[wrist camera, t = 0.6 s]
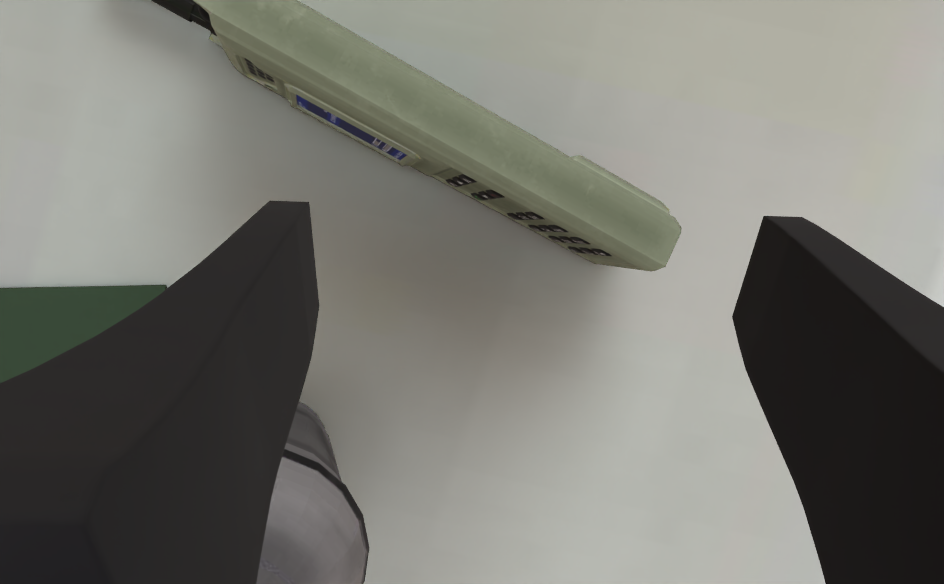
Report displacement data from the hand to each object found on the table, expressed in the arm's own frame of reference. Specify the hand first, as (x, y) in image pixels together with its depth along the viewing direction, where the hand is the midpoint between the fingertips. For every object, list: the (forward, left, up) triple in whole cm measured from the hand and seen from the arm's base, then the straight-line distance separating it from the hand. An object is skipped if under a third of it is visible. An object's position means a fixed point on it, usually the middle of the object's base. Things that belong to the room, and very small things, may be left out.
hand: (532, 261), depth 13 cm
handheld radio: (+5, +1, -24) cm, 24 cm away
